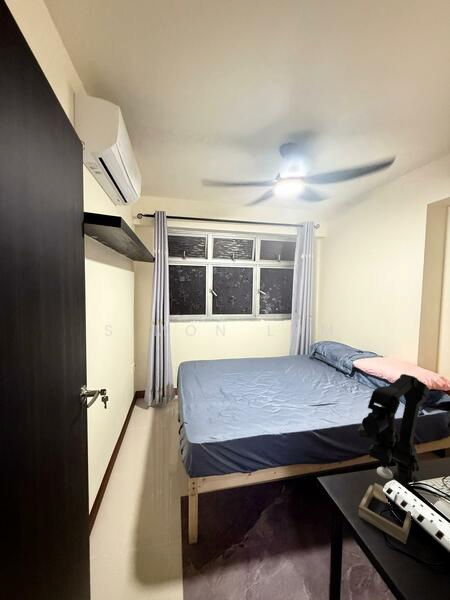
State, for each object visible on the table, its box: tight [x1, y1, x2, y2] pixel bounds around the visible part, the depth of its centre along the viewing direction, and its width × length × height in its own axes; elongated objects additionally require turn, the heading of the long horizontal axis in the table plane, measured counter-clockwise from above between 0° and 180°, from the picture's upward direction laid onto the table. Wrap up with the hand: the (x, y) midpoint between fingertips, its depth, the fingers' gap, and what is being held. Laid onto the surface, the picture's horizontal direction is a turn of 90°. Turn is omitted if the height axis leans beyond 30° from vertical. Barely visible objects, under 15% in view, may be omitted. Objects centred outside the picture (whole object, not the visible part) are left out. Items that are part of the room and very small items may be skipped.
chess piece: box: [376, 466, 394, 479], centre depth 91 cm, size 5×5×10 cm
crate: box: [358, 484, 413, 545], centre depth 85 cm, size 13×13×4 cm
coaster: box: [372, 482, 391, 506], centre depth 93 cm, size 7×7×1 cm
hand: (384, 465), depth 91 cm, fingers closed on chess piece
